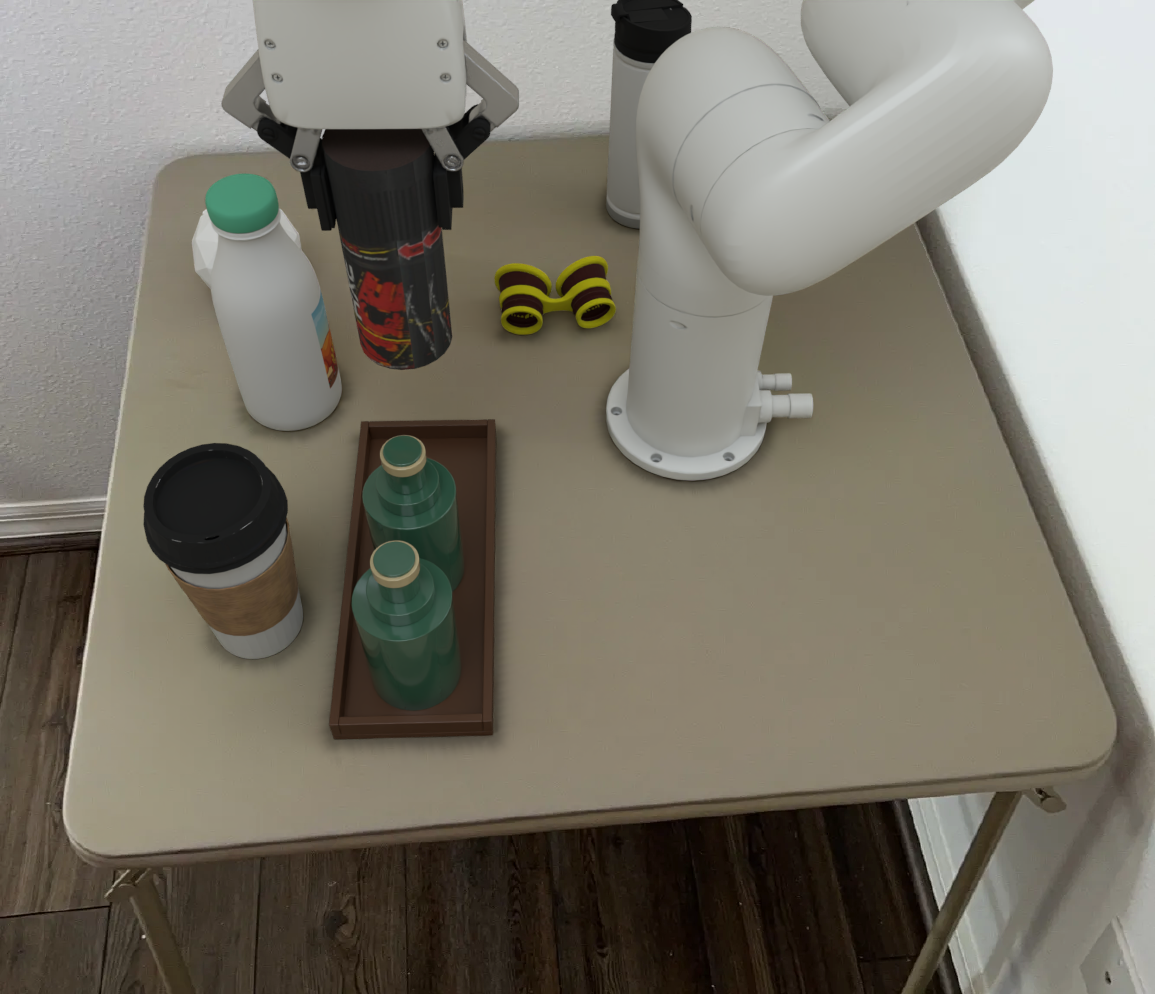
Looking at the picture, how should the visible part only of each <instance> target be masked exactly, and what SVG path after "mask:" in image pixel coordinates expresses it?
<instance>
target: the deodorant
mask: <svg viewBox="0 0 1155 994" xmlns="http://www.w3.org/2000/svg"><path fill="white" fill-rule="evenodd" d="M321 139H322V147H323V152H324V157H325V163H326V168H327V173H328V178H329V183H330V189H331V194H332V199H333V204H334V209H335V215H336V224H337V229H338V234H339V240H340V241H339V242H340V246H341V250H342V251H341V252H342V255H343V262H344V266H345V273H346V277H347V282H348V287H349V293H350V298H351V303H352V308H353V315H354V319H355V323H356V329H357V335H358V339H359V340H358V341H359V344H360V347H361V349H362V350H361V351H362V352H363V354H364V355H365V356H366V357H367V358H368V359H369V360H370V361H371V362H373V363H374V364H376V365H377V366H380V367H382V368H386V369H389V370H396V371H397V370H398V371H408V370H417V369H420V368H423V367H426V366H429V365H430V364H432V363H434V362H436V361H438V360H440V358H442V357H443V355H445V353H446V352H447V351H448V349H449V348H450V347H451V345H452V340H453V327H452V319H451V318H452V317H451V308H450V298H449V297H450V296H449V287H448V279H447V268H446V258H445V247H444V240H443V239H444V237H443V230H442V228H439V227H438V218H437V208H436V199H435V189H434V179H433V169H434V160H435V157H434V155H435V152H434V150H433V149H432V147H431V145H430V143H429V142H428V140H427V138H426V136H425V135H424V133H423V131H422V129H324V131H323V133H322V135H321Z"/></svg>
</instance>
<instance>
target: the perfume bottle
mask: <svg viewBox="0 0 1155 994" xmlns="http://www.w3.org/2000/svg"><path fill="white" fill-rule="evenodd" d="M279 209H280V211H281V218H280V221H279V222H280V224H281V226H282V227H283V229H284V230H285V232H286V233H287V235H288V236H289V237H290V238H291V239H292V240H293V241H294V242H295V243H296V244H297V245H298V247H299V248H300V249H301V250H302V243H301V236H300V233H299V232H298V230H297V229H296V227H295V225H293V223H292V222H291V220H290V219H289V217H288V216H287V215H286V213H285V212H284V210H283V209H281V208H279ZM201 213H202V215H200V217H199V219H198V223H197V225H196V228H195V231H194V234H193V237H192V239H191V247H192V248H191V249H192V257H193V265H194V272H195V273H196V274H197V275H198V277H199V278H200V279H201V281H203V283H204V284H205V285H206V286H207V287H208V288H209V290H211V274H212V268H213V264H214V260H215V256H216V253H217V247H218V234H217V233H216V232H215V231H214V229H213V228H212V225H211V220H210V218H209V215H208V212H207V208H206V209H204V210H203V211H202V212H201Z"/></svg>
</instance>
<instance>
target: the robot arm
mask: <svg viewBox="0 0 1155 994" xmlns="http://www.w3.org/2000/svg"><path fill="white" fill-rule="evenodd" d="M1035 1H1036V0H802V2H801V6H800V7H801V8H800V28H801V32H802V35H803V39H804V42H805V44H806V47H807V49H808V51H809V53H810V54H811V56H812V57H813V59H814V61H815V62H816V63H817V65H818V67H819V68H820V69H821V71H822V72H823V74H824V75H825V77H826V79H828V81H829V82H830V83H831V85H832V86H833V88H834V89H835V90H836V91H837V92H838V94H839V95H840V96H841V98H842V99H843V100H844V102H845V103H846V104H847V105H848V107H847V108H846V109H844V110H843V111H842V112H840V113H839V114H837V115H836V116H834V117H833V118H832V119H831V120H830V118H828V117H827V115H826V114H825V113H824V111H823V110H822V108H821V106H820V104H819V103H818V101H817V100H816V99H815V97H814V96H813V95H812V93H811V92H810V91H809V90H808V88H807V87H806V86H805V84H804V83H803V82H802V81H801V80H800V78H799V77H798V75H797V74H796V73H795V72H794V71H793V69H792V68H791V67H790V65H789V64H788V63H787V62H786V61H785V60H784V59H783V58H782V57H781V55H780V54H779V53H777V51H775V50H774V49H773V47H771V46H770V45H768V44H767V43H766V42H765V41H763V40H762V39H760V38H759V37H757V36H756V35H753V34H752V33H750V32H748V31H744V30H741V29H738V28H733V27H730V26H711V27H705V28H704V27H703V28H701V29H698V30H694V31H691V33H690V34H687V35H685V36H684V37H682V38H680V39H679V40H677V41H676V42H675V43H673V44H672V45H671V46H670V47H668V48H667V49H666V50H665V52H664V53H663V54H662V55H661V56H660V57H659V58H658V60H657V61H656V62H655V64H654V65H653V67H652V69H651V70H650V72H649V74H648V76H647V78H646V80H645V83H644V85H643V88H642V91H641V94H640V98H639V103H638V108H637V116H636V152H637V165H638V177H639V189H640V229H639V239H638V253H637V264H636V275H635V276H636V278H635V279H636V280H635V291H634V303H633V314H632V315H633V316H632V329H631V341H630V342H631V343H630V354H629V366H628V368H627V369H626V370H625V371H623V373H622V374H620V375H619V376H618V377H617V379H616V381H614V383H613V384H612V386H611V388H610V391H609V393H608V395H607V399H606V408H605V422H606V427H607V430H608V434H609V436H610V437H611V439H612V441H613V443H614V445H615V446H616V448H617V449H618V450H619V451H620V452H621V453H622V455H623V456H624V457H626V459H628V460H630V461H631V462H632V463H633V464H635V465H636V466H637V467H640V468H642V470H643V469H644V470H645V471H647V472H649V473H652V474H655V475H657V476H659V477H664V478H668V479H672V480H677V481H692V482H693V481H703V480H704V481H705V480H711V479H715V478H719V477H722V476H725V475H728V474H730V473H733V472H734V471H738V469H740V468H741V467H742V466H744V465H745V464H747V463H748V462H749V461H750V460H751V459H752V458H753V457H754V456H755V454H757V452H758V450H759V448H760V447H761V445H762V443H763V441H764V437H765V434H766V430H767V423H771V421H772V419H773V418H787V419H811V418H812V417H813V413H814V398H813V394H812V393H809V392H807V393H805V392H804V393H803V392H801V393H787V394H772V392H771V391H775V392H779V391H780V392H782V391H783V392H785V391H787V392H788V391H789V392H791V391H792V387H793V376H792V374H791V373H790V372H786V373H785V372H783V373H782V372H779V373H777V372H775V373H773V374H771V373H768V374H763V373H762V371H761V370H759V365H760V360H761V356H762V351H763V346H764V342H765V336H766V331H767V328H768V327H767V326H768V323H769V322H768V321H769V317H770V313H771V307H772V303H773V298H774V297H775V296H776V297H777V296H784V295H788V294H789V295H790V294H791V293H797V292H799V291H802V290H804V289H807V288H809V287H812V286H814V285H816V284H818V283H820V282H822V281H824V280H826V279H828V278H830V277H831V276H833V275H834V274H837V273H838V272H840V271H841V270H843V269H844V268H846V267H848V266H850V265H851V264H852V263H854V262H856V261H858V260H859V259H860V258H863V257H864V256H865V255H867V254H868V253H870V252H871V251H873V250H875V249H876V248H878V247H879V246H881V245H882V244H883V243H885V242H887V241H888V240H890V239H892V238H893V237H895V236H896V235H898V234H899V233H901V232H902V231H904V230H905V229H907V228H908V227H910V226H912V225H913V224H915V223H916V222H918V221H919V220H921V219H922V218H924V217H926V216H928V214H931V213H932V212H933V211H935V210H936V209H938V208H940V207H941V206H943V205H944V204H946V203H947V202H949V201H950V200H952V199H953V198H954V197H956V196H958V195H960V194H961V193H962V192H964V191H966V190H968V188H970V187H971V186H974V184H976V183H978V182H979V181H980V180H981V179H983V178H984V177H986V176H987V175H988V174H990V173H991V172H993V170H994V169H996V168H997V167H998V166H1000V165H1001V164H1002V163H1003V162H1004V161H1005V160H1007V158H1008V157H1009V156H1010V155H1011V154H1012V153H1013V152H1014V151H1015V150H1016V149H1017V148H1018V147H1019V146H1020V144H1022V142H1023V141H1024V140H1025V139H1026V137H1027V136H1028V135H1029V133H1030V132H1031V131H1032V129H1033V127H1035V125H1036V123H1038V122H1037V121H1038V120H1039V119H1040V117H1041V115H1042V114H1043V112H1044V109H1045V106H1046V104H1047V102H1048V99H1049V96H1050V93H1051V89H1052V85H1053V78H1054V77H1053V75H1054V66H1053V59H1052V54H1051V50H1050V47H1049V44H1048V42H1047V40H1046V38H1045V37H1044V34H1043V33H1042V32H1041V30H1040V28H1039V27H1038V26H1037V24H1036V23H1035V22H1034V20H1033V19H1032V18H1031V17H1030V16H1029V15H1028V14H1027V13H1026V12H1025V11H1024V9H1025V8H1027V7H1028V6H1029V5H1031V4H1032V3H1034V2H1035ZM252 7H253V16H254V24H255V25H254V26H255V33H256V40H257V50H256V51H255V52H254V53H253V54H252V55H251V57H249V59H248V61H246V63H245V64H244V65H243V67H242V68H241V69H239V71H238V72H237V73H236V75H235V76H234V77H233V78H232V79H231V80H230V82H229V83H228V84H227V86H226V87H225V88H224V92H223V95H222V100H221V108H222V110H223V111H224V112H225V113H227V115H229V116H231V117H232V118H234V119H236V120H237V121H238V122H239V123H241V124H243V125H244V126H246V127H247V128H248V129H250V130H254V131H256V133H257V136H258V137H259V138H260V139H261V140H262V141H263V142H265V143H266V144H268V145H269V146H271V148H273V149H274V150H276V151H278V152H279V153H281V154H282V155H283V156H285V157H286V158H287V159H289V165H290V166H291V168H292V169H293V170H295V171H296V172H299V174H300V178H301V183H302V188H303V193H304V198H305V202H306V206H307V209H308V210H316V211H317V216H318V221H319V225H320V229H321V231H322V232H332V230H333V229H335V228H336V224H337V220H336V215H335V209H334V204H333V199H332V194H331V189H330V183H329V178H328V173H327V168H326V163H325V157H324V152H323V147H322V134H323V133H322V132H323V130H325V129H422V131H423V133H424V135H425V136H426V138H427V140H428V142H429V143H430V145H431V147H432V149H433V150H434V157H435V160H434V169H433V179H434V189H435V199H436V208H437V218H438V227H439V228H442V231H451V230H452V225H453V223H452V222H453V209H463V208H464V204H465V203H464V199H465V197H464V195H465V194H464V193H465V192H464V180H463V179H464V177H463V166H464V164H465V163H464V161H465V160H466V159H467V158H468V157H469V156H470V155H472V154H473V153H474V152H475V151H476V150H477V149H478V148H479V147H480V146H481V145H482V144H484V143H485V142H486V141H487V140H488V139H489V138H490V136H491V133H492V132H493V131H494V130H495V129H497V128H499V127H500V126H501V125H502V124H503V123H505V122H506V121H507V120H508V119H509V118H510V117H512V116H513V115H514V114H515V113H516V112H517V111H518V110H519V107H520V91H519V88H518V86H517V85H516V84H515V83H513V82H512V81H511V79H509V78H508V77H507V76H506V75H505V74H503V73H502V72H501V71H500V70H499V69H498V68H497V67H495V66H494V64H492V63H491V62H490V61H489V60H488V59H487V58H486V57H484V56H483V55H482V54H481V53H480V52H479V51H477V49H476V48H474V47H473V46H472V45H471V44H470V43H468V38H467V29H466V18H465V11H464V3H463V0H252ZM467 87H469V88H470V90H472V91H474V92H475V93H476V94H477V95H478V96H479V97H481V100H480V102H479V103H477V104H474V105H472V106H471V107H470V108H468V109H467V110H466V104H467V103H466V101H467ZM264 91H265V95H266V98H267V101H266V100H265V99H264V98H262V97H261V94H262V93H264ZM267 102H268V103H267Z"/></svg>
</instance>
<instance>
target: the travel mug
mask: <svg viewBox="0 0 1155 994" xmlns="http://www.w3.org/2000/svg"><path fill="white" fill-rule="evenodd" d="M610 6H611V7H610V16H611V17H612V19H613V21H614V34H613V35H614V36H613V43H612V44H613V48H612V65H611V67H612V68H611V86H610V87H611V89H610V110H609V112H610V113H609V134H608V155H607V176H606V177H607V178H606V179H607V180H606V199H605V207H606V208H605V209H606V211H607V213H608V215H609V216H610V218H612V219H613V220H614V221H615V222H617V223H618V224H620V225H621V226H624V227H628V228H631V229H638V230H640V189H639V177H638V165H637V152H636V116H637V108H638V103H639V98H640V94H641V91H642V88H643V85H644V83H645V80H646V78H647V76H648V74H649V72H650V70H651V69H652V67H653V65H654V64H655V62H656V61H657V60H658V58H659V57H660V56H661V55H662V54H663V53H664V52H665V50H666V49H667V48H668V47H670V46H671V45H672V44H673V43H675V42H676V41H677V40H679V39H680V38H682V37H684V36H685V35H687V34H690V33H692V23H693V20H692V19H693V16H692V13H691V11H689V10H688V8H687V7H685V6H684V3H683V2H682V1H680V0H617V1H616V3H612V4H611V5H610Z"/></svg>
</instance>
